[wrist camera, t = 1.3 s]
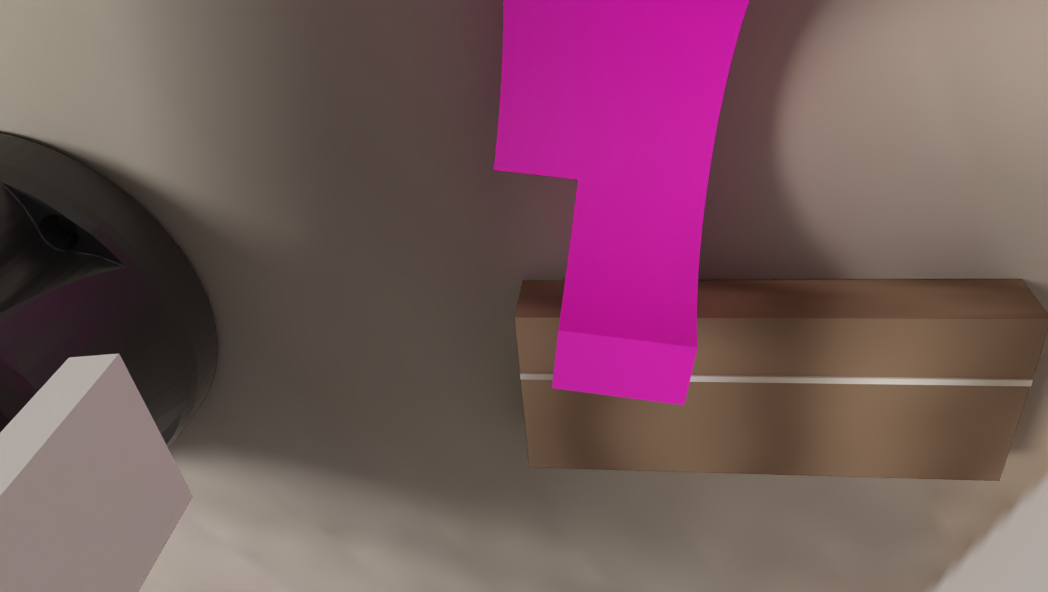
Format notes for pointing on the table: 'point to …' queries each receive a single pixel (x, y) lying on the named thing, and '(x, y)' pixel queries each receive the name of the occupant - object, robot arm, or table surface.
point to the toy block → (621, 172)
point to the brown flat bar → (807, 382)
